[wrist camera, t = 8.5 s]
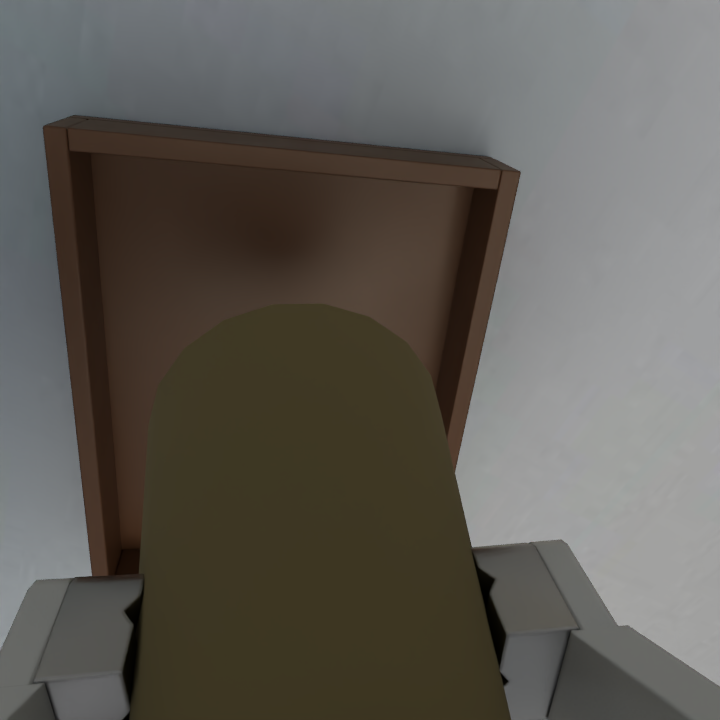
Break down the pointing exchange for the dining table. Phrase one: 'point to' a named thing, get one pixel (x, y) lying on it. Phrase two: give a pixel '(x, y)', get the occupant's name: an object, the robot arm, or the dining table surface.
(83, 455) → the tray
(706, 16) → the dining table surface
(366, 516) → the cork
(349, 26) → the dining table surface
